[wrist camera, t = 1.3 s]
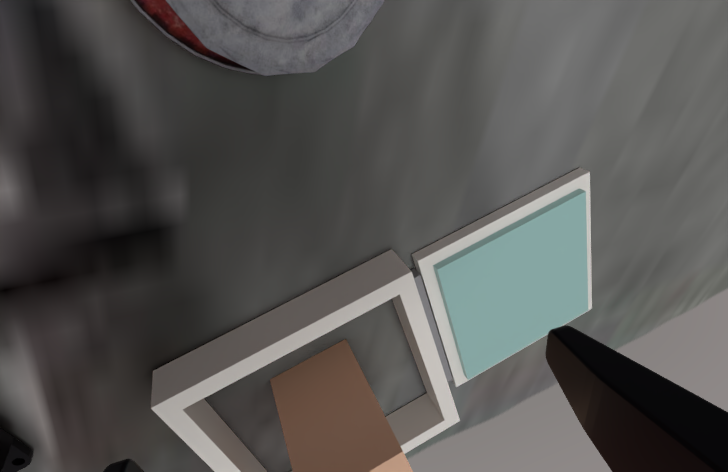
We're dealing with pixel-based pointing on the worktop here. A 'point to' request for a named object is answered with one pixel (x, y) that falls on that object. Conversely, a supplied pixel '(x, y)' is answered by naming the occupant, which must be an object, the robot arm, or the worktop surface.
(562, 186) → the lid
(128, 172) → the worktop surface
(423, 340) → the pale grey square frame
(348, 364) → the block
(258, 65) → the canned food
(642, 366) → the robot arm
